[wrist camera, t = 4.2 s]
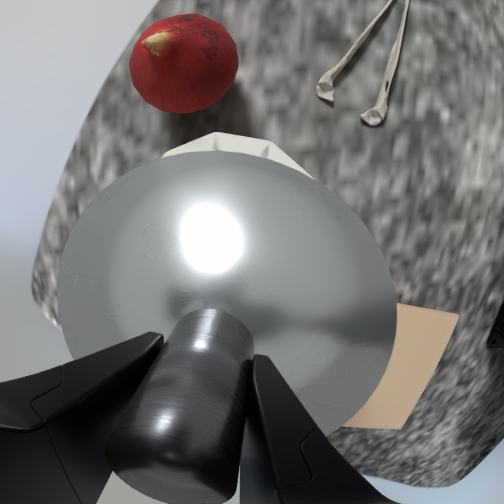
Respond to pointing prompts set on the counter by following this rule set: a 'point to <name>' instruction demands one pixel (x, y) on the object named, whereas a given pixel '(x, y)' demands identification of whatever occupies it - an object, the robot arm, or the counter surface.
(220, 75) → the onion
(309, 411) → the lid
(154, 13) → the counter surface
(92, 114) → the counter surface
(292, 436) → the robot arm
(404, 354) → the mat
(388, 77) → the tweezers
